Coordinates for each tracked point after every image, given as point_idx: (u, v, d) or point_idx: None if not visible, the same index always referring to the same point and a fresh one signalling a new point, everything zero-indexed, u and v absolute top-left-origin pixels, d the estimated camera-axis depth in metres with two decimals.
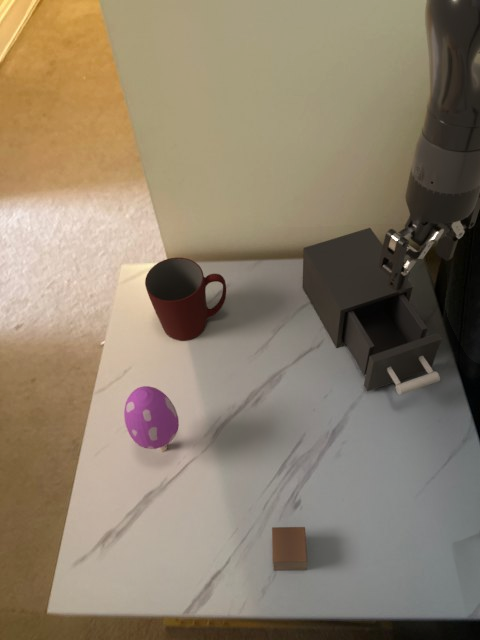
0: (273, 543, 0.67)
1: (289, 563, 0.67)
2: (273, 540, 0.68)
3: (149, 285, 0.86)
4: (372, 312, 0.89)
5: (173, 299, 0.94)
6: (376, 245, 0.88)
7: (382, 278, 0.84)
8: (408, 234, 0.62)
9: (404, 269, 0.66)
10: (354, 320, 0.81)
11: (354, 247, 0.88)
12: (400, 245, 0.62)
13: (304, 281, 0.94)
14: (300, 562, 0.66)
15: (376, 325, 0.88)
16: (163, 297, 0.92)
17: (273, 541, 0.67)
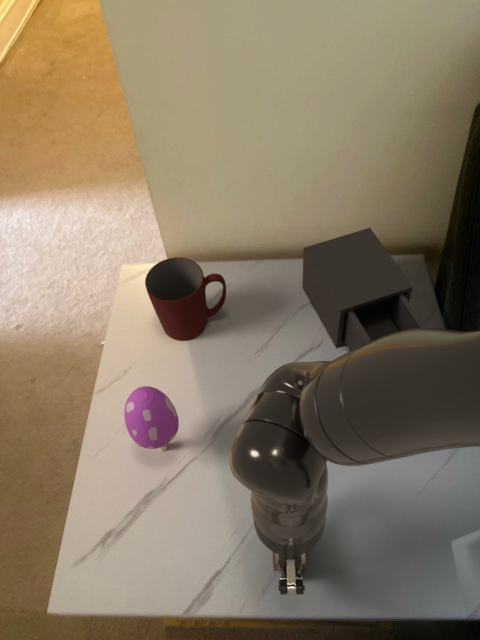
0: None
1: None
2: None
3: (149, 285, 0.86)
4: (372, 312, 0.89)
5: (173, 299, 0.94)
6: (376, 245, 0.88)
7: (382, 278, 0.84)
8: (295, 575, 0.59)
9: (299, 571, 0.64)
10: (354, 320, 0.81)
11: (354, 247, 0.88)
12: None
13: (304, 281, 0.94)
14: None
15: (376, 325, 0.88)
16: (163, 297, 0.92)
17: None
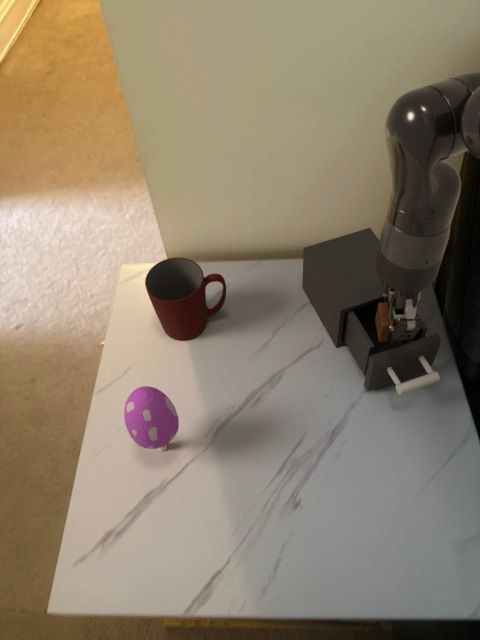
0: (381, 313, 0.77)
1: None
2: (381, 311, 0.77)
3: (149, 285, 0.86)
4: (372, 312, 0.89)
5: (173, 299, 0.94)
6: (376, 245, 0.88)
7: None
8: (413, 312, 0.69)
9: None
10: (354, 320, 0.81)
11: (354, 247, 0.88)
12: (419, 327, 0.69)
13: (304, 281, 0.94)
14: None
15: None
16: (163, 297, 0.92)
17: (381, 311, 0.77)
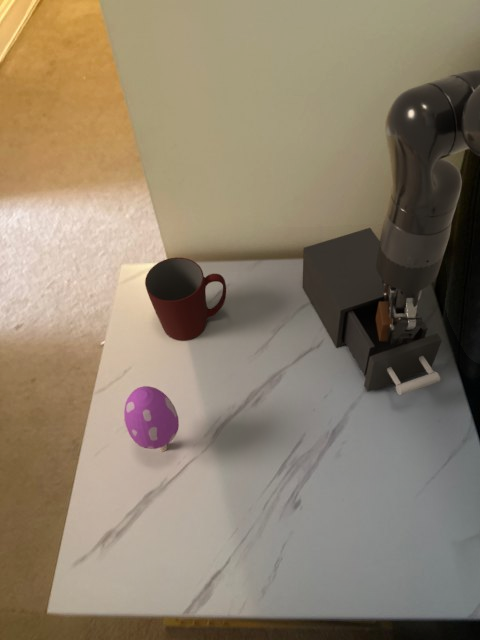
0: (381, 312, 0.77)
1: None
2: (381, 310, 0.77)
3: (149, 285, 0.86)
4: (372, 312, 0.89)
5: (173, 299, 0.94)
6: (376, 245, 0.88)
7: None
8: (414, 311, 0.69)
9: None
10: (354, 320, 0.81)
11: (354, 247, 0.88)
12: (420, 326, 0.68)
13: (304, 281, 0.94)
14: None
15: (376, 325, 0.88)
16: (163, 297, 0.92)
17: (381, 310, 0.77)
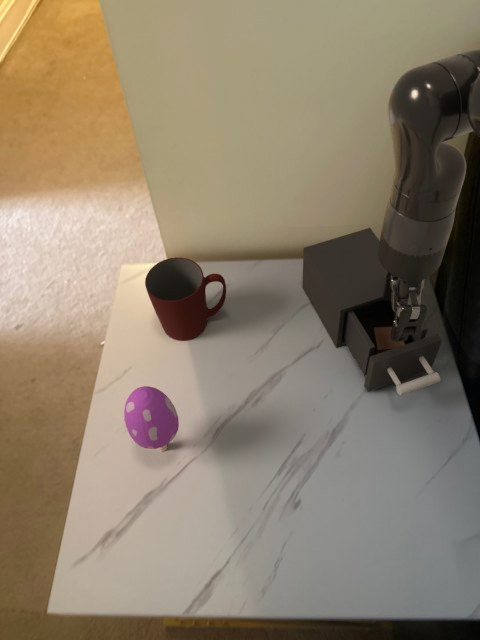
0: (376, 337, 0.82)
1: None
2: (376, 335, 0.82)
3: (149, 285, 0.86)
4: (372, 313, 0.89)
5: (173, 299, 0.94)
6: (376, 245, 0.88)
7: (382, 278, 0.84)
8: (417, 299, 0.67)
9: None
10: (354, 321, 0.81)
11: (354, 247, 0.88)
12: (424, 312, 0.66)
13: (304, 281, 0.94)
14: None
15: (376, 326, 0.88)
16: (163, 297, 0.92)
17: (376, 336, 0.82)
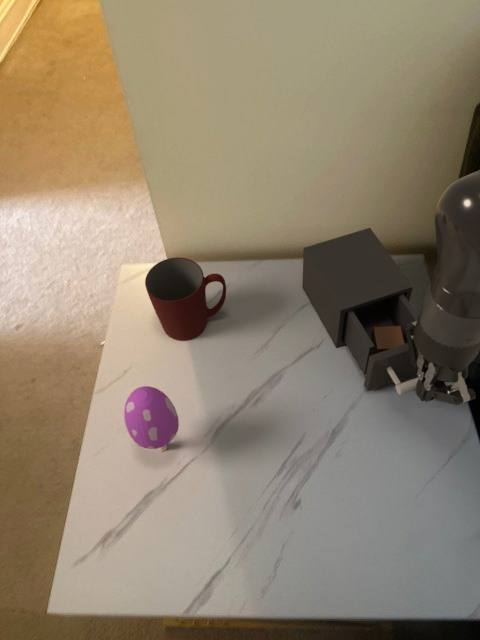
0: (375, 337, 0.82)
1: None
2: (375, 335, 0.82)
3: (149, 285, 0.86)
4: (372, 312, 0.89)
5: (173, 299, 0.94)
6: (376, 245, 0.88)
7: (382, 278, 0.84)
8: (465, 386, 0.66)
9: (444, 384, 0.72)
10: (354, 320, 0.81)
11: (354, 247, 0.88)
12: (473, 398, 0.66)
13: (304, 281, 0.94)
14: None
15: (376, 325, 0.88)
16: (163, 297, 0.92)
17: (375, 335, 0.82)
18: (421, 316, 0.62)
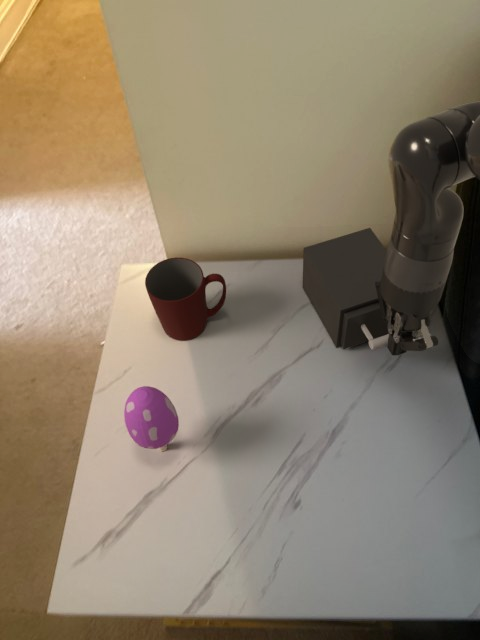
0: None
1: None
2: None
3: (149, 285, 0.86)
4: None
5: (173, 299, 0.94)
6: (376, 245, 0.88)
7: None
8: (429, 333, 0.70)
9: None
10: None
11: (354, 247, 0.88)
12: (436, 345, 0.71)
13: (304, 281, 0.94)
14: None
15: None
16: (163, 297, 0.92)
17: None
18: (385, 265, 0.67)
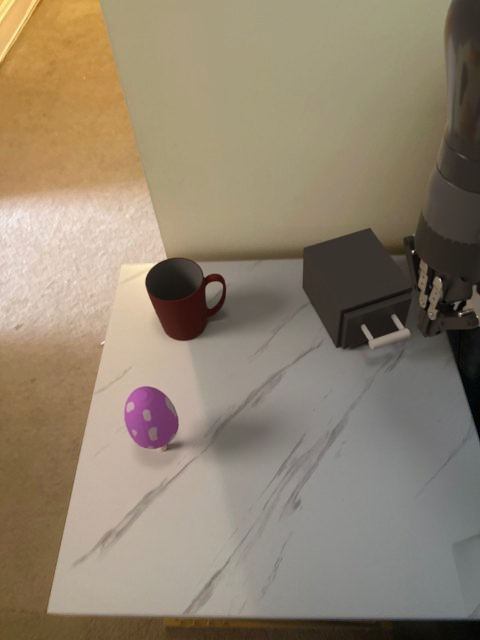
0: None
1: None
2: None
3: (149, 285, 0.86)
4: None
5: (173, 299, 0.94)
6: (376, 245, 0.88)
7: (382, 278, 0.84)
8: None
9: None
10: None
11: (354, 247, 0.88)
12: None
13: (304, 281, 0.94)
14: None
15: None
16: (163, 297, 0.92)
17: None
18: (424, 206, 0.47)
